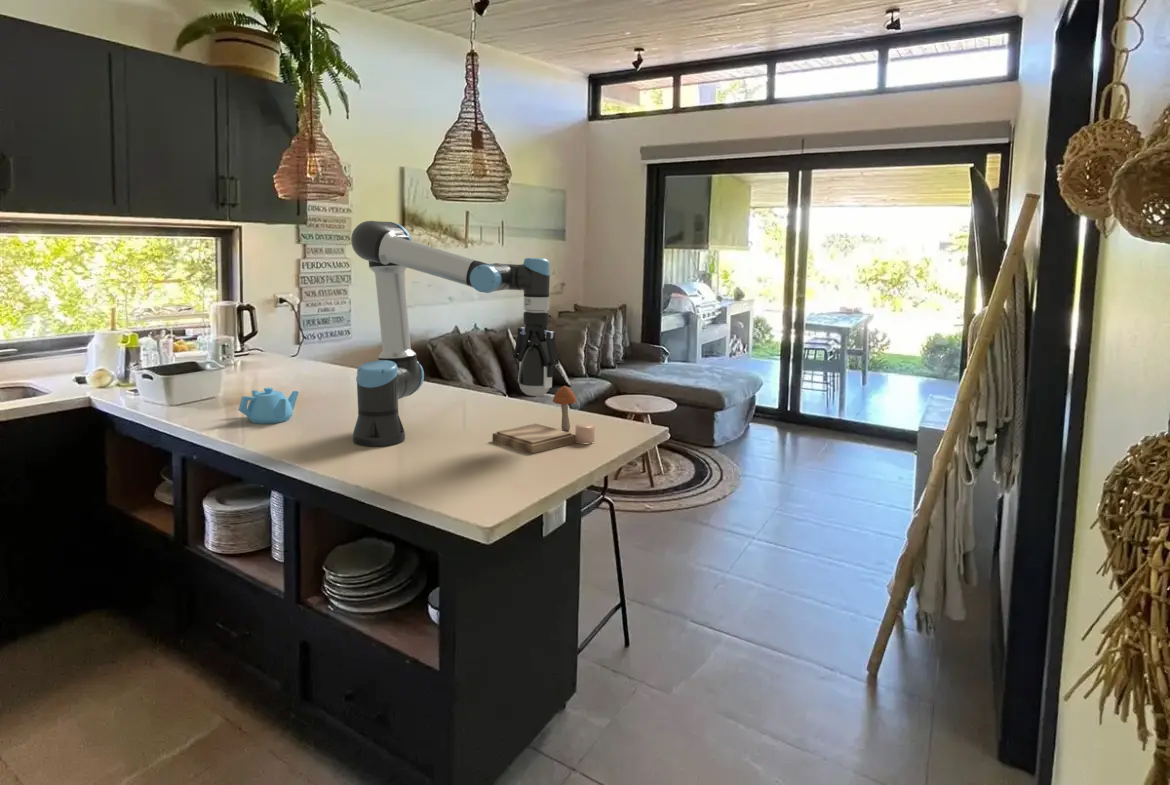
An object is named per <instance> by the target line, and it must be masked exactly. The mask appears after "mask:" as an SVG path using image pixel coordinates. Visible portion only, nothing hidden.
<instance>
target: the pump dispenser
mask: <svg viewBox="0 0 1170 785" xmlns="http://www.w3.org/2000/svg"><path fill="white" fill-rule="evenodd" d="M545 365H546V364H545V361H544V358H543V356H542V353H541V350H540V347H539V346H538V345H537V343H533V344H532V345H531V346H529V347H528V348H527V350H526V352H525V354H524V356H523V359H522V362H521V365H520V370H518V376H517V377H518V378H517V383H518V384H519V389H520V390H521V392H523V393H524V394H525V395H526V396H531V397H540V396H543V395H545V394H547V393H548V392H549V391H550V388H546V389H545V388H544V366H545Z"/></svg>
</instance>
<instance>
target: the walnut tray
mask: <svg viewBox="0 0 1170 785" xmlns="http://www.w3.org/2000/svg"><path fill="white" fill-rule="evenodd" d="M491 441H492V442H494V443H498V444H500V445H504V446H507V447H510V448H514V449H517V450H520V451H522V452H527V453H529V454H537V453H541V452H544V451H549V450H552V449H556V448H561V447H564V445H565V446H568V444H569V445H572V444H571V443H573V444H576V443H575V442H576V435H575V434H573V433H572V432H568V431H562V429H561V430H560V429H558V428H553V427H550V426H547V425H546V426H545V425H542V424H539V423H531V424H527V425H522V426H516V427H513V428H508V429H503V430H500V431H496V432H493V433H492V440H491Z"/></svg>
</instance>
